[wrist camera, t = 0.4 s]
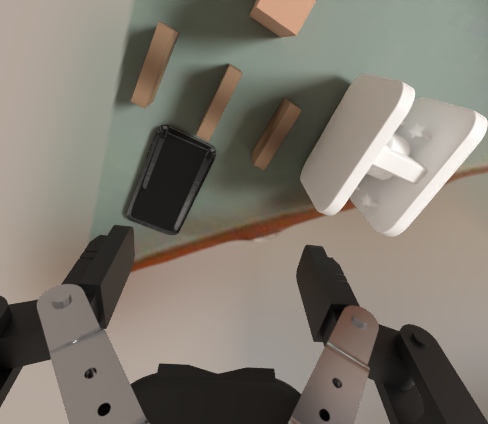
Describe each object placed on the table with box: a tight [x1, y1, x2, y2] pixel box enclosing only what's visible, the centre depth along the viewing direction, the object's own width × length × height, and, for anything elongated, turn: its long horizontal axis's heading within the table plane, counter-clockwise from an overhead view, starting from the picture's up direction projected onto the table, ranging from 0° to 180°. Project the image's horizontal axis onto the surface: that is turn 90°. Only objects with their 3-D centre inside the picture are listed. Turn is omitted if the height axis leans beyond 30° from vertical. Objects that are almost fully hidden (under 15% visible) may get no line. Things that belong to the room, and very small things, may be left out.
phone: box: [127, 125, 216, 235], centre depth 39 cm, size 8×1×15 cm
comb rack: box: [131, 22, 302, 170], centre depth 32 cm, size 8×16×4 cm, turn 60°
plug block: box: [249, 0, 316, 37], centre depth 26 cm, size 4×4×8 cm
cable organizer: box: [300, 74, 488, 237], centre depth 33 cm, size 15×11×12 cm
